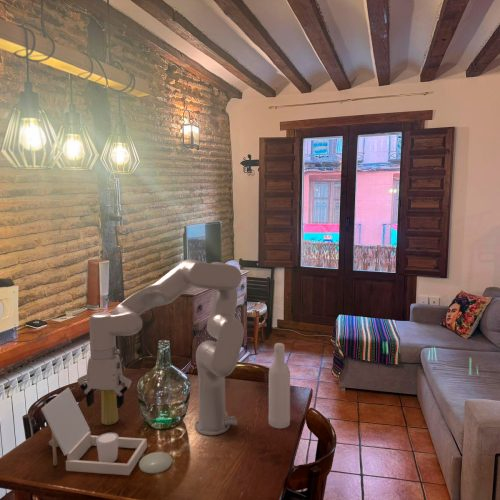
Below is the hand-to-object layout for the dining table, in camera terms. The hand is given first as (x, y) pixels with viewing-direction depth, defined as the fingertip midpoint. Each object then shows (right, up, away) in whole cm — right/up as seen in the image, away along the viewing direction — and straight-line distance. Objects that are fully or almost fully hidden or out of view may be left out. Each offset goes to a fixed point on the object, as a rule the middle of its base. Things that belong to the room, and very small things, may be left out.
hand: (105, 405), depth 136 cm
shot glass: (0, -18, +2) cm, 18 cm away
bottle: (+56, -15, +23) cm, 63 cm away
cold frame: (-3, -18, +2) cm, 18 cm away
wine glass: (-20, -17, +12) cm, 29 cm away
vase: (-7, -15, +26) cm, 31 cm away
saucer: (+16, -18, -1) cm, 24 cm away
